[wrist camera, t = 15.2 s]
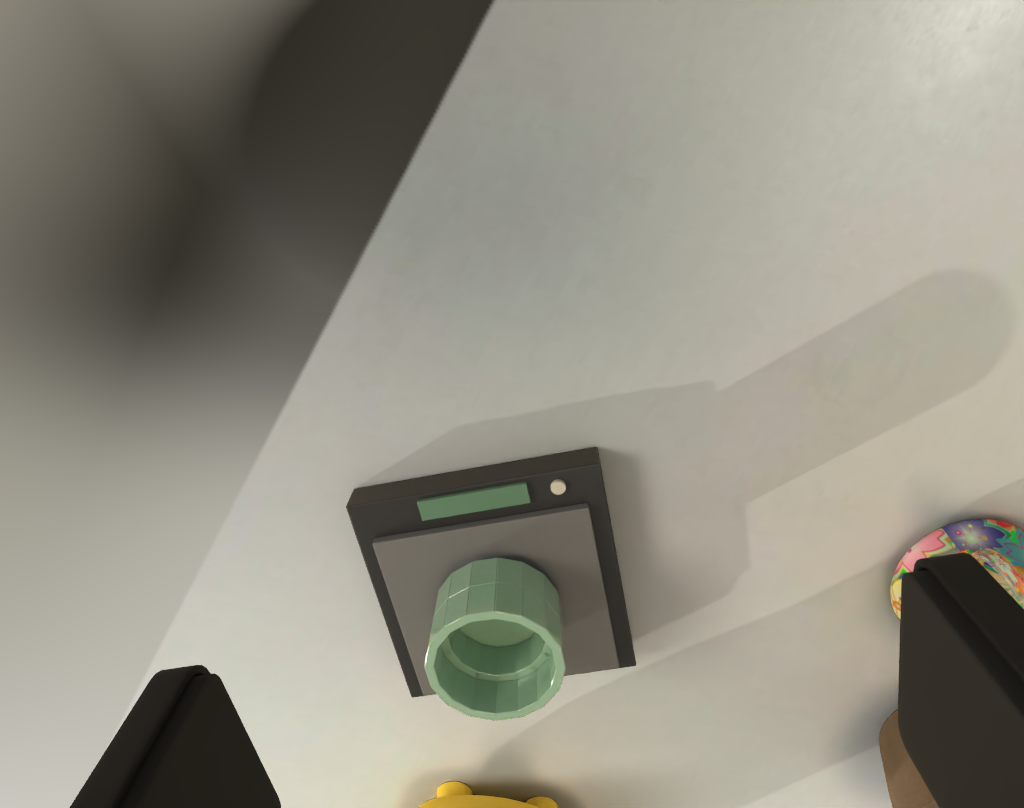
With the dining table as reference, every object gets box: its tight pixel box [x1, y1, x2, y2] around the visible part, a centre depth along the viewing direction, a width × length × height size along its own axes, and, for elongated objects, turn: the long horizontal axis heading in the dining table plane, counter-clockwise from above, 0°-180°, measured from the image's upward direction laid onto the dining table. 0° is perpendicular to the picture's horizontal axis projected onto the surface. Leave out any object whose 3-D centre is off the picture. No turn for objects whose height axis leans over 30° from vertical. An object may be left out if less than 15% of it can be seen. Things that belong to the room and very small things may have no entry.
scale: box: [346, 447, 636, 697], centre depth 41 cm, size 14×14×3 cm
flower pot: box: [879, 710, 939, 808], centre depth 42 cm, size 12×11×10 cm
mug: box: [890, 519, 1024, 620], centre depth 36 cm, size 12×9×11 cm
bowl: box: [424, 558, 566, 720], centre depth 38 cm, size 7×7×5 cm
